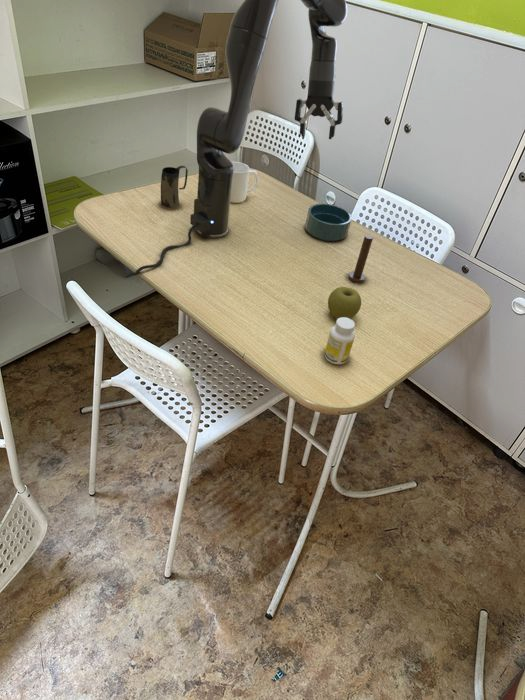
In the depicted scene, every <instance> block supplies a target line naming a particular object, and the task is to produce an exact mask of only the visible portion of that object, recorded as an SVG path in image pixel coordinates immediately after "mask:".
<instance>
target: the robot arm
mask: <svg viewBox="0 0 525 700" xmlns="http://www.w3.org/2000/svg"><path fill="white" fill-rule="evenodd" d="M300 2H301V3H302V4H303V5H304V6H305V7H306V8H307V9H308V15H307V16H308V22H309V23H308V24H309V28H310V36H311V42H312V43H311V45H312V47H311V57H310V65H309V74H308V84H307V85H308V87H307V97H306V99H302V98H298V99H297V100H296V104H295V111H294V121H296V122H299V135H300V136H301V138H304V137H305V136H306V129H307V128H306V126H307V123H306V121H307V120H308V119H309V118H310V117H311V116H312V117H320V118H326V119H327V121H328V122H329V124H330V126H329V131H328V132H329V133H328V140H332V139H333V138H334V137H335V134H336V126H338V125H341V124H342V123H343V115H344V102H343V101H334V92H335V82H336V69H337V68H336V60H337V50H338V40H337V38H335V37H333V36H331V35H328V34H327V32H326V29H325V27H332V28H333V27H335V28H337V27H339V26H341V25H342V24H344V22H345V21H346V19H347V16H348V5H347V1H346V0H300ZM278 3H279V0H243V2H242V3H241V4H240V6H239V7H238V8H237V9H236V11H235V13H234V15H233V17H232V18H231V21H230V26H229V29H228V34H227V37H226V41H225V47H224V56H225V63H226V69H227V72H228V77H229V83H230V100H229V105H228V110H227V111H225V110H222V109H219V108H217V107H214V106H211V107H210V106H209V107H206V108H205V109H204V110H202V112H201V114H200V116H199V117H198V122H197V126H196V163H197V165H198V176H197V178H198V179H197V195H196V196H197V197H196V198H194V200H193V213H191V214H190V220H189V221H190V222H189V224H190V225H191V227H190V228H189V230H188V232H187V238H188V240H187V241H186V242H185V243H184V244H180V245H178V244H177V245H169V246H166V247H165V248H163V250H162V251H161V253H160V257H159V260H158V261H157V262H155V263H154V264H146V265H141V266H140V267H139V268H138V269H136V271H135V272H134V273H133V276H138V275H139V273H140V272H141V271H143V270H146V269H152V268H156V267H158V266H160V265H161V264H162V262H163V260H164V255H165V254H166V252H167V251H169V250H172V249H173V250H174V249H178V248H182V247H183V248H184V247H187V246H188V245H190V243H191V242H192V232H193V231H194V232H195V233H198V234H199V235H200V236H201V237H203V238H204V239H217V238H218V239H219V238H223V237H224V236H226V235H227V234H228V232H229V217H230V210H231V209H230V207H231V202H230V199H231V189H232V179H233V164H232V162H233V161H231V160H230V159H229V157H227V156H226V154H229V155H231V154H235V153H236V151H238V149H239V147H240V146H241V144H242V141H243V139H244V136H245V131H246V126H247V121H248V116H249V111H250V106H251V101H252V98H253V97H252V96H253V92H254V88H255V84H256V80H257V77H258V73H259V70H260V67H261V63H262V60H263V56H264V54H265V51H266V47H267V43H268V39H269V34H270V30H271V26H272V23H273V19H274V16H275V12H276V10H277V6H278ZM304 106H306V108H307V111H306V112H305V113H304V115H303V116H301V114H302V108H303V107H304ZM333 108H334V109H335V110H336V111H337V115H336V120H335V117H334V115H333V114H332V111H331V110H332V109H333Z"/></svg>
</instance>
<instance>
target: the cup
mask: <svg viewBox="0 0 525 700" xmlns="http://www.w3.org/2000/svg"><path fill="white" fill-rule="evenodd" d="M231 162H232V164H233V179H232V189H231V199H230V203H235V204H239V203H243V202H245V201H246V199H247V197H248V196H247V195H248V193H251V192H253V191H255V190H256V188H257V186H258V183H259V174H258V172H257V171H256V170H254V169H250V167H249V165H248V164H246V163H244V162H239V161H231ZM250 175H253V176H254V181H253V182H254V183H253V185H252V186H251V187H249V179H250Z"/></svg>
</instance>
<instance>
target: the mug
mask: <svg viewBox="0 0 525 700" xmlns="http://www.w3.org/2000/svg"><path fill="white" fill-rule="evenodd" d="M181 169H185V174H184V175H185V178H184V184H183V186H182V187H179V183H180V181H179V179H180V171H181ZM188 172H189V170H188V168H187V166H185V165H179V166H177V167H173V166H165V167H164V168H162V170H161V177H160V206H161V207H162V208H163V209H165V210H168V211H169V210H171V211H173V210H177V209H179V208H180V197H179V196H180V195H179V190H180V191H181V190H185V189H186V186H187V182H188Z"/></svg>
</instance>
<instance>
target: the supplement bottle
mask: <svg viewBox="0 0 525 700" xmlns="http://www.w3.org/2000/svg"><path fill="white" fill-rule="evenodd" d="M355 327H356V323H355V321H354V320H353V319H352V318H350V319H349V318H346V317H341V318H338V319H337V318H336V321H335V325H334V326H332V327H331V329H330V331H329V336H328V337H327V338H328V339H327V342H326V345H325V350H324V357H325V359H326V360H327V361H328V362H330V363H331V364H333V365H343V364H345V363H347V362H348V359H349V358H350V355H351V350H352V347H353V344H354V342H355V338H356V337H355V336H356V333H355V331H354V330H355Z"/></svg>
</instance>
